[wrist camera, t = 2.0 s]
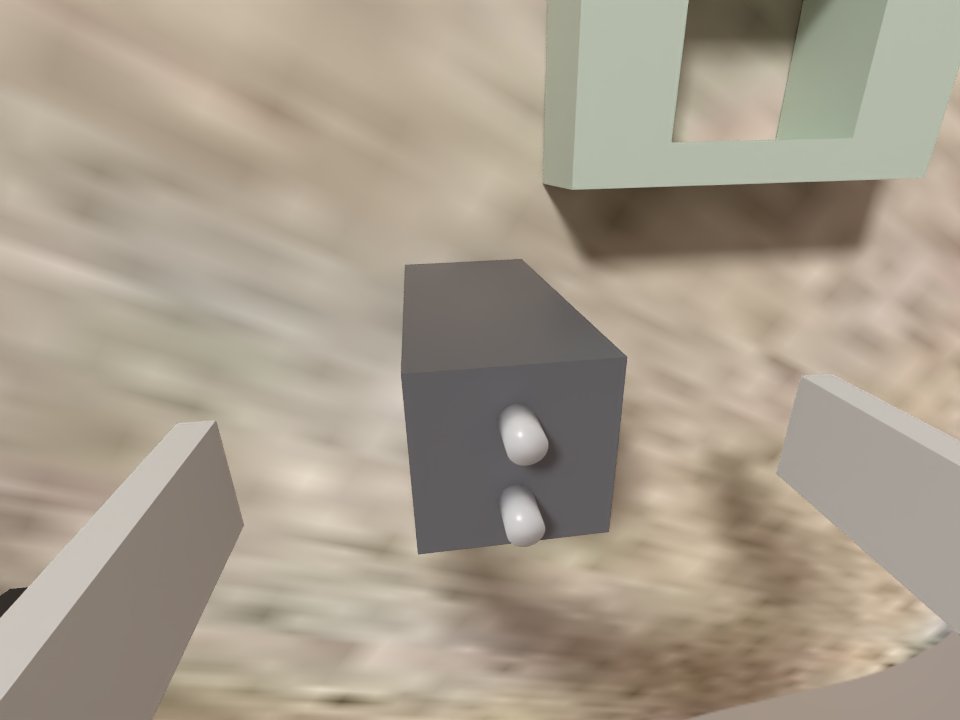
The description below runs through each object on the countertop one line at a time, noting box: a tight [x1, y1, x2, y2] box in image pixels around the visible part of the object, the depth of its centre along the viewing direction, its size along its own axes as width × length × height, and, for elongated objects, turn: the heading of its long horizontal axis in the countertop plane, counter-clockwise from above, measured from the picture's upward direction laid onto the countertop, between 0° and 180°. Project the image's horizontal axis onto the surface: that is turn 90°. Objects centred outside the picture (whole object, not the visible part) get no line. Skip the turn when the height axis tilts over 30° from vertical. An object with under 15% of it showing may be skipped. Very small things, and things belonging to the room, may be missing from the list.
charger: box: [401, 259, 627, 554], centre depth 14 cm, size 4×4×11 cm
